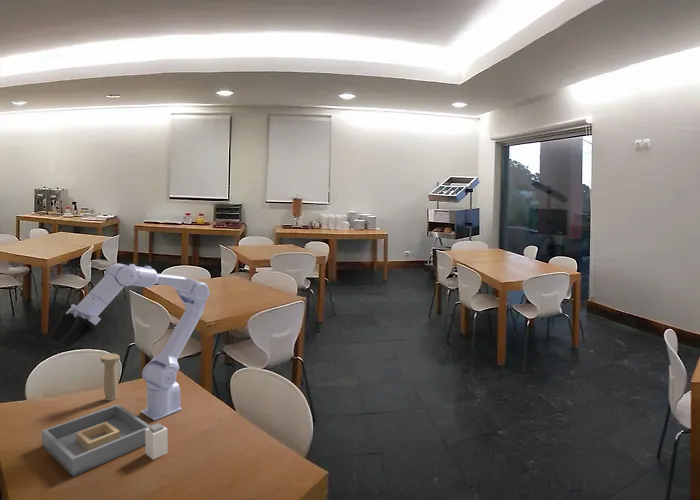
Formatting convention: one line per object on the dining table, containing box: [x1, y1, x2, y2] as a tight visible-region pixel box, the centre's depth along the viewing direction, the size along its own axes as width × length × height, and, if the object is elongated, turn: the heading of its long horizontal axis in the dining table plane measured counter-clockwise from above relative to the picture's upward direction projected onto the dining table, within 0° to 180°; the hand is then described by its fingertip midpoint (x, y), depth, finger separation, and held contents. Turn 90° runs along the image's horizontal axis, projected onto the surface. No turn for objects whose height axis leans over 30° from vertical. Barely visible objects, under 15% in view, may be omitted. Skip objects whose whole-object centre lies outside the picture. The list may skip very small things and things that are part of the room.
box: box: [41, 403, 151, 477], centre depth 117 cm, size 20×20×4 cm
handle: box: [99, 353, 121, 402], centre depth 141 cm, size 5×6×15 cm
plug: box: [144, 422, 169, 461], centre depth 114 cm, size 4×4×8 cm
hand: (58, 342), depth 108 cm, fingers open, 7 cm apart
